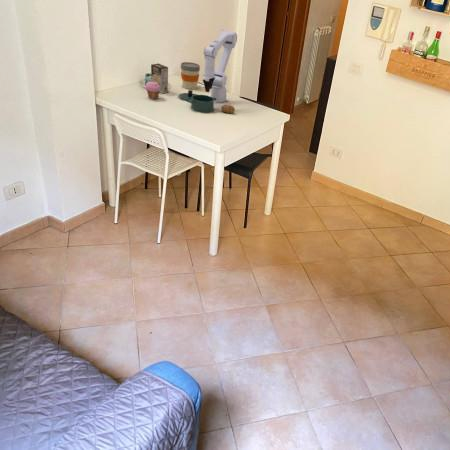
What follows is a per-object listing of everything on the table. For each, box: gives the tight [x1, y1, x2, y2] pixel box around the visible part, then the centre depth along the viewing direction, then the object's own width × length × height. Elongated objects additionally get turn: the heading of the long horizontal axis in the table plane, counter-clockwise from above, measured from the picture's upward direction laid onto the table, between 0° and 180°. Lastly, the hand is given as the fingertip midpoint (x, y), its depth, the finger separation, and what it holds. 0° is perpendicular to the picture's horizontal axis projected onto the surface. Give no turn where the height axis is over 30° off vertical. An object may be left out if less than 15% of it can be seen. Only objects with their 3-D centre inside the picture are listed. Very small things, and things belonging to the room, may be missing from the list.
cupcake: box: [145, 81, 161, 100], centre depth 264 cm, size 9×9×10 cm
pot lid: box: [178, 89, 198, 102], centre depth 276 cm, size 14×14×5 cm
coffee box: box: [150, 63, 169, 94], centre depth 275 cm, size 9×6×16 cm
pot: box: [187, 94, 216, 113], centre depth 263 cm, size 13×19×6 cm
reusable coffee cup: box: [180, 61, 201, 90], centre depth 293 cm, size 13×13×15 cm
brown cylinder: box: [220, 104, 236, 114], centre depth 265 cm, size 8×5×5 cm, turn 91°
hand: (208, 90), depth 267 cm, fingers open, 7 cm apart
